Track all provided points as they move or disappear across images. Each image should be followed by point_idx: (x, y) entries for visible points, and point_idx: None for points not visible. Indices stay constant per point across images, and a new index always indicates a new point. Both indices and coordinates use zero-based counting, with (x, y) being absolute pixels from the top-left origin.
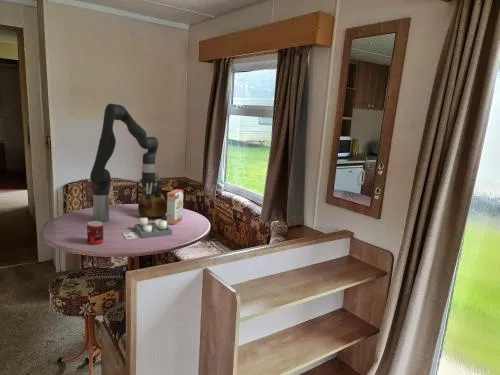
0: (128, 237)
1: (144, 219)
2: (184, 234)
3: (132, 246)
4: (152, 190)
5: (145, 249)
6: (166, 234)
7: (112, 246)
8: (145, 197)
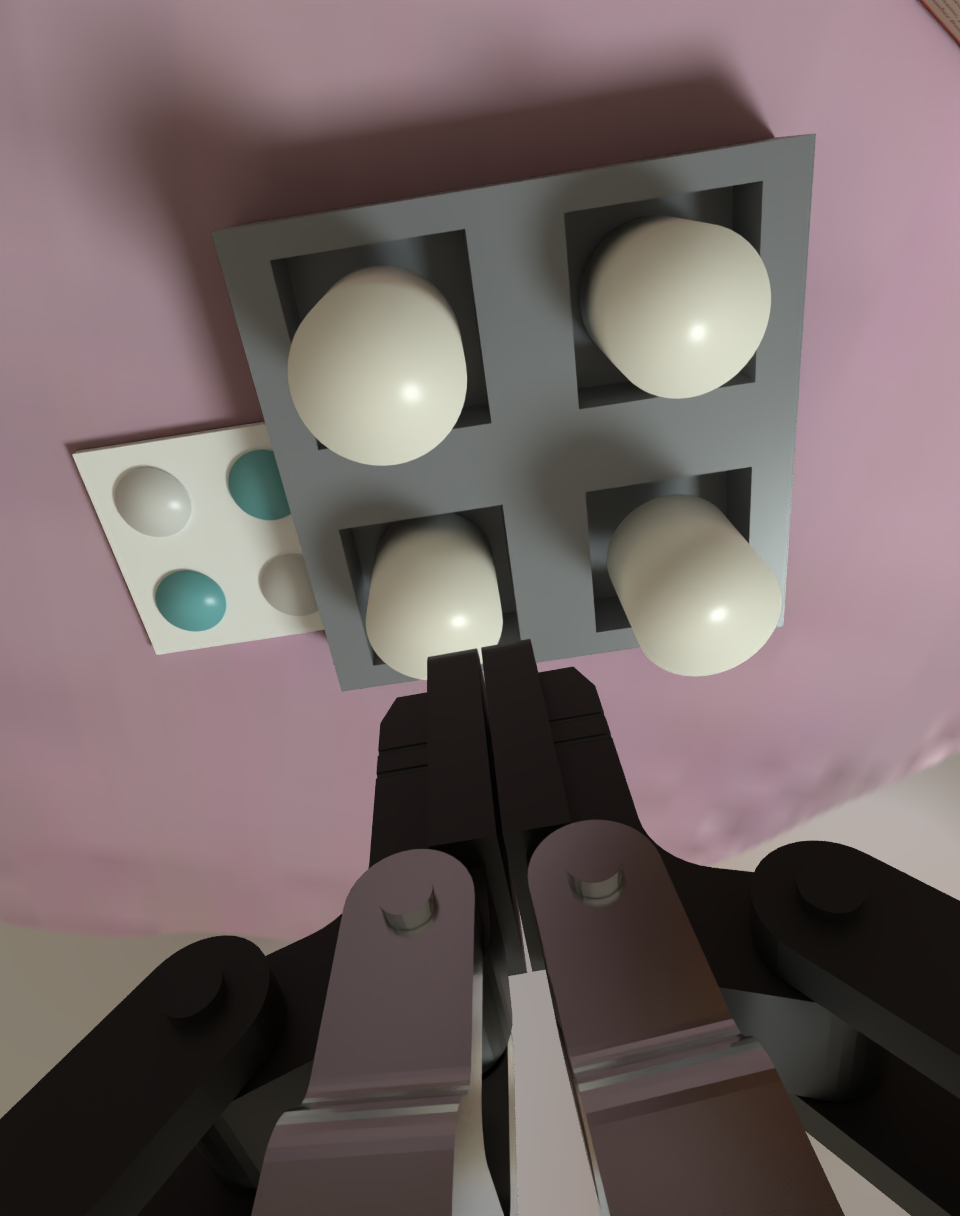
0: (179, 626)
1: (391, 457)
2: (912, 603)
3: (253, 841)
4: (828, 1075)
5: None
6: None
7: (42, 816)
8: (382, 744)
